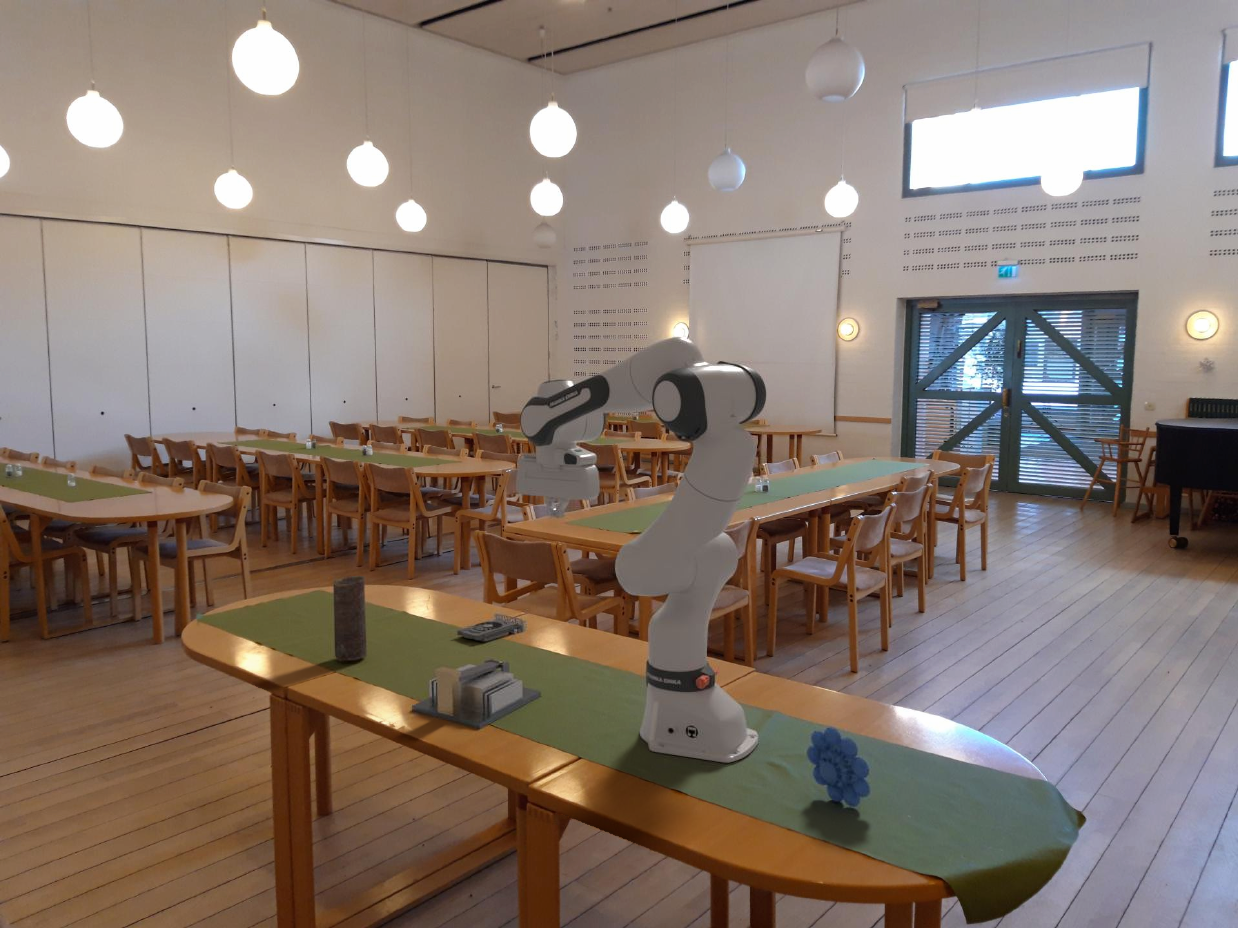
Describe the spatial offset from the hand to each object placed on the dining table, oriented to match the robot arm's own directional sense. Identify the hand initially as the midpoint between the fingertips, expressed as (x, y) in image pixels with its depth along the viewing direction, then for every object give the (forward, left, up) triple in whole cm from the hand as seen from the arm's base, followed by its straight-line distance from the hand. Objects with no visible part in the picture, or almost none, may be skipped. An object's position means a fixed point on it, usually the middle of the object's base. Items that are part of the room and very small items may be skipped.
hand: (557, 517), depth 193 cm
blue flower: (-70, +23, -37) cm, 83 cm away
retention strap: (+7, +20, -31) cm, 37 cm away
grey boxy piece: (+7, +19, -37) cm, 42 cm away
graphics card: (+36, -19, -38) cm, 56 cm away
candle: (+51, +14, -37) cm, 65 cm away
